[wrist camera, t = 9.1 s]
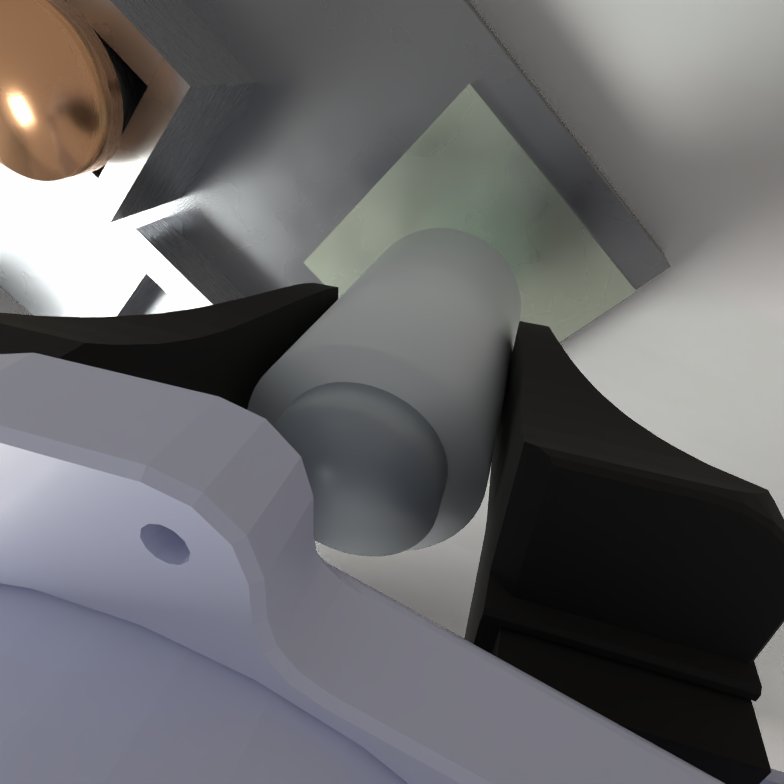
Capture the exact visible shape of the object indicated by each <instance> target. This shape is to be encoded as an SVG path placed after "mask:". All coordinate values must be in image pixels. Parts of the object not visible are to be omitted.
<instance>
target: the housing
mask: <svg viewBox="0 0 784 784" xmlns="http://www.w3.org/2000/svg"><path fill="white" fill-rule="evenodd" d="M65 1H66V2H67V3H69V4H70V5H71V6H72V7H73V8H74V9H76V10H77V11H78V12H79V13H80V14H81V15H82V16H83V18H84V19H85V20H86V21H87V22H88V23H89V25H90V26H91V27H92V29H94V30H95V31H96V32H97V33H98V34H99V35H100V36H101V38H102V39H103V40H104V41H105V42H106V43H107V44H108V45H109V46H110V47H111V48H112V49H113V50H114V51H115V52H116V53H117V54H118V55H119V56H120V58H121V59H122V60H123V61H124V62H125V63H126V64H127V65H128V66H129V67H130V68H131V69H132V70H133V71H134V72H135V73H136V74H137V75H138V76H139V78H140V79H141V80H142V81H143V82H144V83H145V84H146V85H147V86H148V87H147V89H146V91H145V93H144V95H143V97H142V98H141V100H140V102H139V104H138V106H137V108H136V110H135V111H134V113H133V115H132V117H131V119H130V121H129V123H128V124H127V126H126V128H125V130H124V132H123V134H122V136H121V138H120V142H119V145H118V147H117V149H116V151H115V153H114V155H113V156H112V158H111V159H110V160H109V161H108V162H107V163H106V164H105V165H104V166H103V167H101V168H100V169H98V170H96V171H93V172H90V173H86V174H81V175H77V176H73V177H68V178H64V179H59V180H55V181H39V180H34V179H30V178H27V177H24V176H22V175H20V174H18V173H16V172H14V171H12V170H11V169H9V168H7V167H6V166H5V165H3V164H2V163H0V287H1V288H3V289H4V290H5V291H6V292H7V293H8V294H9V295H10V296H12V297H13V298H14V299H15V300H16V301H17V302H18V303H19V304H20V305H22V306H23V307H24V308H25V309H26V310H27V311H28V312H29V313H31V314H32V315H34V316H60V317H109V316H126V315H142V314H156V313H164V312H172V311H180V310H187V309H193V308H199V307H204V306H209V305H214V304H218V303H222V302H227V301H231V300H236V299H240V298H245V297H249V296H253V295H256V294H260V293H264V292H268V291H272V290H276V289H280V288H284V287H288V286H292V285H297V284H303V283H318V284H323V285H329V286H334V287H339V288H338V299H339V298H340V297H341V296H342V295H343V294H344V293H345V292H346V291H347V290H348V289H349V288H350V286H351V285H352V284H353V283H354V282H355V281H356V280H357V279H358V278H359V277H360V276H361V275H362V274H363V273H364V272H365V271H366V270H367V269H368V268H369V267H370V266H371V265H372V264H373V263H374V262H375V261H376V260H377V259H378V258H379V257H380V256H381V255H382V254H383V253H384V252H385V251H386V250H387V249H388V248H389V247H390V246H391V245H392V244H394V243H395V242H396V241H398V240H399V239H401V238H403V237H404V236H406V235H409V234H411V233H413V232H416V231H420V230H424V229H430V228H450V229H456V230H460V231H464V232H467V233H470V234H472V235H474V236H476V237H479V238H480V239H482V240H483V241H485V242H487V243H488V244H489V245H491V246H492V247H493V248H494V249H495V250H497V251H498V253H499V254H500V255H501V256H502V257H503V258H504V259H505V261H506V262H507V263H508V265H509V266H510V268H511V270H512V272H513V274H514V276H515V278H516V281H517V284H518V286H519V291H520V296H521V315H520V321H523V322H528V323H533V324H539V325H544V326H549V327H550V329H551V330H552V332H553V334H554V335H555V337H556V338H557V340H558V341H559V343H560V342H561V341H563V340H564V339H566V338H567V337H569V336H570V335H572V334H573V333H575V332H576V331H578V330H579V329H581V328H582V327H584V326H585V325H587V324H588V323H590V322H591V321H593V320H594V319H596V318H597V317H599V316H600V315H602V314H604V313H605V312H607V311H608V310H610V309H611V308H613V307H614V306H616V305H617V304H619V303H620V302H622V301H623V300H625V299H626V298H628V297H629V296H631V295H632V294H634V293H635V292H636V289H637V288H638V287H640V286H641V285H643V284H644V283H646V282H647V281H649V280H650V279H652V278H653V277H655V276H656V275H658V274H659V273H661V272H662V271H664V270H665V269H667V268H668V267H670V265H669V263H668V261H667V259H666V257H665V255H664V253H663V252H662V251H661V249H660V248H659V247H658V246H657V244H656V243H655V242H654V240H653V239H652V238H651V236H650V235H649V234H648V233H647V231H646V230H645V229H644V227H643V226H642V225H641V224H640V222H639V221H638V220H637V218H636V217H635V216H634V215H633V213H632V212H631V211H630V209H629V208H628V207H627V205H626V204H625V203H624V202H623V200H622V199H621V198H620V196H619V195H618V194H617V193H616V191H615V190H614V189H613V187H612V186H611V185H610V183H609V182H608V181H607V180H606V178H605V177H604V176H603V174H602V173H601V172H600V171H599V169H598V168H597V167H596V165H595V164H594V163H593V162H592V160H591V159H590V158H589V156H588V155H587V154H586V152H585V151H584V150H583V149H582V147H581V146H580V145H579V143H578V142H577V141H576V140H575V138H574V137H573V136H572V134H571V133H570V132H569V130H568V129H567V128H566V127H565V125H564V124H563V123H562V121H561V120H560V119H559V118H558V116H557V115H556V114H555V112H554V111H553V110H552V108H551V107H550V106H549V105H548V103H547V102H546V101H545V99H544V98H543V97H542V96H541V94H540V93H539V92H538V90H537V89H536V88H535V87H534V85H533V84H532V83H531V81H530V80H529V79H528V77H527V76H526V75H525V74H524V72H523V71H522V70H521V68H520V67H519V66H518V65H517V63H516V62H515V61H514V59H513V58H512V57H511V55H510V54H509V53H508V52H507V50H506V49H505V48H504V46H503V45H502V44H501V43H500V41H499V40H498V39H497V37H496V36H495V35H494V34H493V32H492V31H491V30H490V28H489V27H488V26H487V24H486V23H485V22H484V21H483V19H482V18H481V17H480V15H479V14H478V13H477V12H476V10H475V9H474V8H473V6H472V5H471V4H470V2H469V1H468V0H65Z"/></svg>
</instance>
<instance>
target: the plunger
mask: <svg viewBox="0 0 784 784" xmlns="http://www.w3.org/2000/svg"><path fill="white" fill-rule="evenodd" d="M147 87H148V86H147V85H146V84H145V83H144V82H143V81H142V80H141V79H140V78H139V76H138V75H137V74H136V73H135V72H134V71H133V70H132V69H131V68H130V67H129V66H128V65H127V64H126V63H125V62H124V61H123V60H122V59H121V58H120V56H119V55H118V54H117V53H116V52H115V51H114V50H113V49H112V48H111V47H110V46H109V45H108V44H107V43H106V42H105V41H104V40H103V39H102V38H101V36H100V35H99V34H98V33H97V32H96V31H95V30H94V29H92V27H91V26H90V25H89V23H88V22H87V21H86V20H85V19H84V18H83V16H82V15H81V14H80V13H79V12H78V11H77V10H76V9H74V8H73V7H72V6H71V5H70V4H69V3H67V2H66V1H65V0H0V163H2V164H3V165H5V166H6V167H7V168H9V169H11V170H12V171H14V172H16V173H18V174H20V175H22V176H24V177H27V178H30V179H34V180H39V181H55V180H59V179H64V178H68V177H73V176H77V175H81V174H86V173H90V172H93V171H96V170H98V169H100V168H101V167H103V166H104V165H105V164H106V163H107V162H108V161H109V160H110V159H111V158H112V156H113V155H114V153H115V151H116V149H117V147H118V145H119V142H120V138H121V136H122V134H123V132H124V130H125V128H126V126H127V124H128V123H129V121H130V119H131V117H132V115H133V113H134V111H135V110H136V108H137V106H138V104H139V102H140V100H141V98H142V97H143V95H144V93H145V91H146V89H147Z"/></svg>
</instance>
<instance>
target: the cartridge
mask: <svg viewBox="0 0 784 784" xmlns="http://www.w3.org/2000/svg"><path fill="white" fill-rule="evenodd" d="M520 315H521V296H520V291H519V286H518V284H517V281H516V278H515V276H514V274H513V272H512V270H511V268H510V266H509V265H508V263H507V262H506V261H505V259H504V258H503V257H502V256H501V255H500V254H499V253H498V251H497V250H495V249H494V248H493V247H492V246H491V245H489V244H488V243H487V242H485V241H483V240H482V239H480V238H479V237H476V236H474V235H472V234H470V233H467V232H464V231H460V230H456V229H450V228H430V229H424V230H420V231H416V232H413V233H411V234H409V235H406V236H404V237H403V238H401V239H399V240H398V241H396V242H395V243H394V244H392V245H391V246H390V247H389V248H388V249H387V250H386V251H385V252H384V253H383V254H382V255H381V256H380V257H379V258H378V259H377V260H376V261H375V262H374V263H373V264H372V265H371V266H370V267H369V268H368V269H367V270H366V271H365V272H364V273H363V274H362V275H361V276H360V277H359V278H358V279H357V280H356V281H355V282H354V283H353V284H352V285H351V286H350V288H349V289H348V290H347V291H346V292H345V293H344V294H343V295H342V296H341V297H340V298H339V299H338V300H337V301H336V302H335V303H334V304H333V305H332V306H331V307H330V308H329V309H328V310H327V311H326V312H325V313H324V314H323V315H322V316H321V317H320V318H319V319H318V320H317V321H316V322H315V323H314V324H313V325H312V326H311V327H310V328H309V329H308V330H307V331H306V332H305V333H304V334H303V335H302V336H301V337H300V338H299V339H298V340H297V341H296V342H295V343H294V344H293V345H292V346H291V347H290V348H289V350H288V351H287V352H286V353H285V354H284V355H283V356H282V357H281V358H280V359H279V360H278V361H277V362H276V363H275V364H274V365H273V366H272V367H271V368H270V369H269V370H268V371H267V372H266V373H265V374H264V375H263V376H262V377H261V379H260V380H259V382H258V384H257V385H256V387H255V388H254V391H253V393H252V395H251V398H250V400H249V405H248V409H247V410H248V411H250V412H253V413H255V414H257V415H259V416H261V417H263V418H265V419H267V420H268V422H269V423H270V424H271V425H272V426H273V427H274V428H275V429H276V430H277V431H278V432H279V433H280V434H281V436H282V437H283V438H284V439H285V440H286V441H287V442H288V443H289V444H290V445H291V446H292V447H293V448H294V449H295V451H296V452H297V453H298V454H299V455H300V456H301V458H302V461H303V464H304V468H305V471H306V474H307V477H308V480H309V484H310V487H311V490H312V493H313V535H314V540H315V541H317V542H319V543H321V544H323V545H325V546H328V547H330V548H333V549H336V550H338V551H342V552H345V553H349V554H355V555H361V556H386V555H392V554H396V553H400V552H403V551H407V550H415V549H421V548H425V547H429V546H432V545H435V544H437V543H440V542H442V541H444V540H446V539H448V538H450V537H452V536H453V535H455V534H456V533H457V532H459V531H460V530H461V529H463V528H464V527H465V526H466V525H467V524H468V523H469V522H470V520H471V519H472V518H473V517H474V515H475V514H476V512H477V511H478V509H479V507H480V505H481V503H482V500H483V498H484V495H485V491H486V487H487V482H488V477H489V472H490V467H491V462H492V457H493V452H494V447H495V442H496V437H497V432H498V427H499V422H500V417H501V412H502V406H503V401H504V396H505V391H506V386H507V378H508V371H509V366H510V361H511V357H512V352H513V347H514V343H515V338H516V334H517V329H518V325H519V321H520Z"/></svg>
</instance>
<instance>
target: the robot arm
mask: <svg viewBox="0 0 784 784" xmlns="http://www.w3.org/2000/svg"><path fill="white" fill-rule="evenodd" d="M338 288H339V287H334V286H329V285H323V284H318V283H303V284H297V285H292V286H288V287H284V288H280V289H276V290H272V291H268V292H264V293H260V294H256V295H253V296H249V297H245V298H240V299H236V300H231V301H227V302H222V303H218V304H214V305H209V306H204V307H199V308H193V309H187V310H180V311H172V312H164V313H156V314H142V315H126V316H109V317H60V316H34V315H21V314H9V313H0V784H784V772H781V771H778V770H774V769H771V768H770V765H769V761H768V758H767V754H766V751H765V747H764V744H763V740H762V737H761V733H760V730H759V726H758V723H757V719H756V716H755V712H754V708H753V705H752V701H751V700H753V701H756V700H757V699H758V698H759V697H760V696H761V689H762V686H761V683H760V679H759V676H758V673H757V670H756V666H755V663H754V660H755V658H756V657H757V656H758V654H759V653H760V652H761V651H762V649H763V648H764V647H765V645H766V644H767V643H768V642H769V640H770V639H771V638H772V636H773V635H774V634H775V632H776V631H777V630H778V629H779V627H780V626H781V625H782V623H783V622H784V519H783V517H782V515H781V513H780V511H779V509H778V507H777V505H776V503H775V501H774V499H773V498H772V496H771V494H770V493H769V491H768V490H767V489H764V488H762V487H760V486H757V485H755V484H752V483H750V482H748V481H745V480H743V479H741V478H738V477H736V476H734V475H731V474H729V473H727V472H724V471H722V470H720V469H717V468H715V467H713V466H710V465H708V464H706V463H704V462H702V461H700V460H698V459H696V458H695V457H693V456H691V455H689V454H687V453H685V452H683V451H681V450H679V449H678V448H676V447H674V446H672V445H670V444H669V443H667V442H665V441H664V440H662V439H660V438H659V437H657V436H655V435H654V434H652V433H651V432H650V431H648V430H647V429H645V428H644V427H642V426H641V425H639V424H638V423H636V422H635V421H633V420H632V419H631V418H629V417H628V416H627V415H625V414H624V413H623V412H621V411H620V410H619V409H618V408H617V407H616V406H614V405H613V404H612V403H611V402H610V401H609V400H607V399H606V398H605V397H604V396H603V395H602V394H601V393H600V392H599V391H598V390H597V389H596V388H595V387H594V386H593V385H592V384H591V383H590V382H589V381H588V380H587V378H586V377H585V376H584V375H583V374H582V373H581V372H580V370H579V369H578V368H577V367H576V366H575V364H574V363H573V362H572V360H571V359H570V358H569V356H568V355H567V354H566V352H565V351H564V349H563V348H562V346H561V345H560V343H559V341H558V340H557V338H556V337H555V335H554V334H553V332H552V330H551V329H550V327H549V326H544V325H539V324H533V323H528V322H523V321H519V325H518V329H517V334H516V338H515V343H514V347H513V352H512V357H511V361H510V366H509V371H508V378H507V386H506V391H505V396H504V401H503V406H502V412H501V417H500V422H499V427H498V432H497V437H496V442H495V447H494V452H493V457H492V464H491V476H490V489H489V502H488V515H487V523H486V530H485V536H484V542H483V547H482V552H481V557H480V562H479V567H478V573H477V578H476V583H475V588H474V593H473V598H472V603H471V608H470V613H469V618H468V624H467V629H466V634H465V639H463V638H462V637H460V636H458V635H456V634H454V633H453V632H451V631H449V630H447V629H445V628H444V627H442V626H440V625H438V624H436V623H434V622H433V621H431V620H429V619H427V618H425V617H424V616H422V615H420V614H418V613H416V612H415V611H413V610H411V609H409V608H407V607H406V606H404V605H402V604H400V603H398V602H397V601H395V600H393V599H391V598H389V597H388V596H386V595H384V594H382V593H380V592H379V591H377V590H375V589H373V588H371V587H370V586H368V585H366V584H364V583H362V582H360V581H359V580H357V579H355V578H353V577H351V576H350V575H348V574H346V573H344V572H342V571H341V570H339V569H337V568H335V567H333V566H332V565H330V564H328V563H326V562H325V561H324V560H323V559H322V558H321V557H320V556H319V555H318V553H317V552H316V546H315V541H314V535H313V493H312V490H311V487H310V484H309V480H308V477H307V474H306V471H305V468H304V464H303V461H302V458H301V456H300V455H299V454H298V453H297V452H296V451H295V449H294V448H293V447H292V446H291V445H290V444H289V443H288V442H287V441H286V440H285V439H284V438H283V437H282V436H281V434H280V433H279V432H278V431H277V430H276V429H275V428H274V427H273V426H272V425H271V424H270V423H269V422H268V420H267V419H265V418H263V417H261V416H259V415H257V414H255V413H253V412H250V411H248V410H247V409H248V405H249V400H250V398H251V395H252V393H253V391H254V388H255V387H256V385H257V384H258V382H259V380H260V379H261V377H262V376H263V375H264V374H265V373H266V372H267V371H268V370H269V369H270V368H271V367H272V366H273V365H274V364H275V363H276V362H277V361H278V360H279V359H280V358H281V357H282V356H283V355H284V354H285V353H286V352H287V351H288V350H289V348H290V347H291V346H292V345H293V344H294V343H295V342H296V341H297V340H298V339H299V338H300V337H301V336H302V335H303V334H304V333H305V332H306V331H307V330H308V329H309V328H310V327H311V326H312V325H313V324H314V323H315V322H316V321H317V320H318V319H319V318H320V317H321V316H322V315H323V314H324V313H325V312H326V311H327V310H328V309H329V308H330V307H331V306H332V305H333V304H334V303H335V302H336V301H337V300H338Z"/></svg>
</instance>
